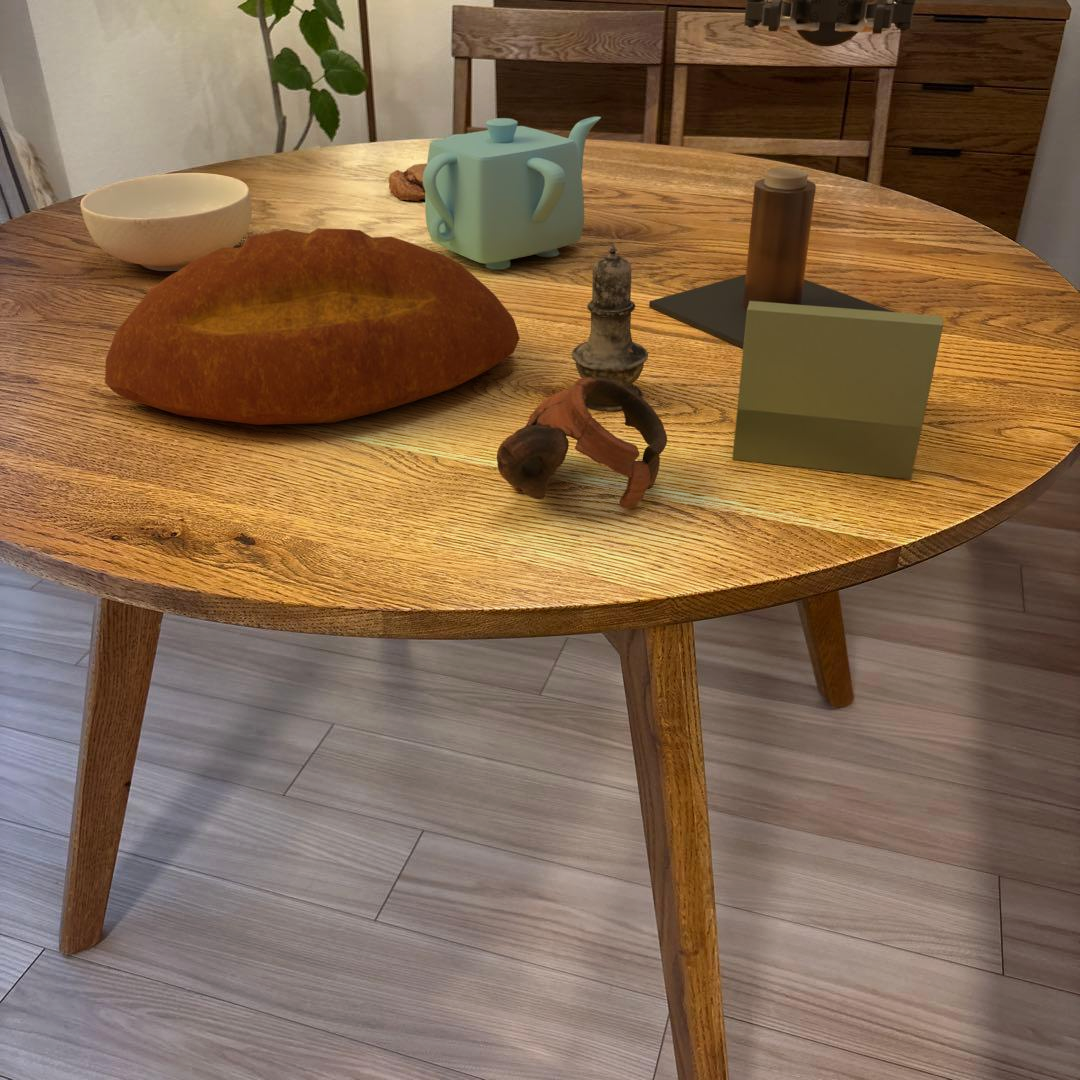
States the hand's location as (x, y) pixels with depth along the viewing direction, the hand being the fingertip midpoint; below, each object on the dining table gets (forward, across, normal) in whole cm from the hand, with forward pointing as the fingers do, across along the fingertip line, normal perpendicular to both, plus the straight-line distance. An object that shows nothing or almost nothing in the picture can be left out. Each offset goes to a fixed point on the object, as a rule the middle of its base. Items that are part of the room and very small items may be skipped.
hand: (826, 18), depth 86 cm
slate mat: (+5, -2, +24) cm, 24 cm away
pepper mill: (+4, -2, +23) cm, 24 cm away
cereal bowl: (+3, -64, +24) cm, 69 cm away
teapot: (-8, -30, +24) cm, 39 cm away
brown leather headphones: (+40, -12, +24) cm, 48 cm away
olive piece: (+28, +4, +24) cm, 37 cm away
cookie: (-28, -47, +24) cm, 60 cm away
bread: (+28, -36, +24) cm, 52 cm away
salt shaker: (+26, -12, +24) cm, 37 cm away
